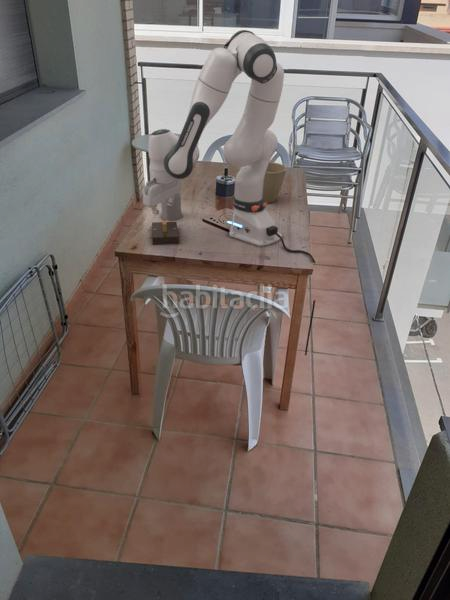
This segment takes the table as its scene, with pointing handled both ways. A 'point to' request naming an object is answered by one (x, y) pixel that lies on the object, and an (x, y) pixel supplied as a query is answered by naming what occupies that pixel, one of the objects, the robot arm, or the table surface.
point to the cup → (172, 208)
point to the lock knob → (164, 225)
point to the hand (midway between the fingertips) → (163, 210)
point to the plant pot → (273, 181)
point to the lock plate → (164, 233)
